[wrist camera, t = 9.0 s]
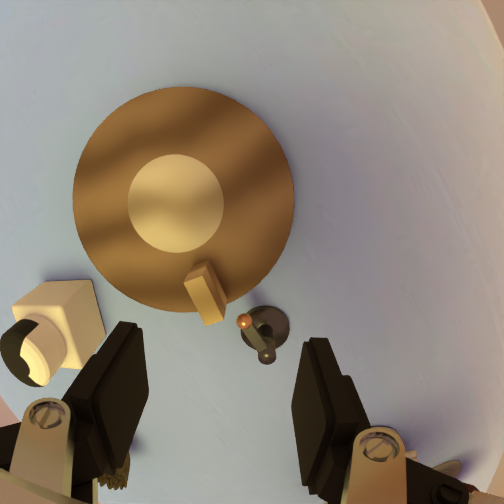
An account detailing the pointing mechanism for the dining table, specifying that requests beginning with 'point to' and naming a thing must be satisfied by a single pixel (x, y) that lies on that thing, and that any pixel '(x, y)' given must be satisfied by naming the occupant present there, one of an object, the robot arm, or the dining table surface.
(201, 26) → the dining table surface
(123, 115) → the disc
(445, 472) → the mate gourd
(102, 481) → the brown textured pot
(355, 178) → the dining table surface
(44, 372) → the medicine bottle
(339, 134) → the dining table surface
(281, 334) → the joystick
